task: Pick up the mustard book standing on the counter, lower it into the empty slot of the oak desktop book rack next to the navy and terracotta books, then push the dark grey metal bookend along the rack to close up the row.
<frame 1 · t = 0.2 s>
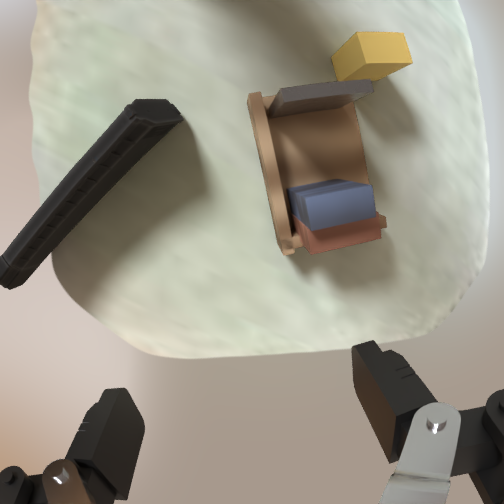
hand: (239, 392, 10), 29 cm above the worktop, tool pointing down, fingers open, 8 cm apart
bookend: (315, 99, 28), point 7 cm above the worktop, slide at 0.0 cm
book: (355, 68, 33), on the worktop
magazine: (87, 197, 36), on the worktop
shelf: (313, 163, 36), on the worktop
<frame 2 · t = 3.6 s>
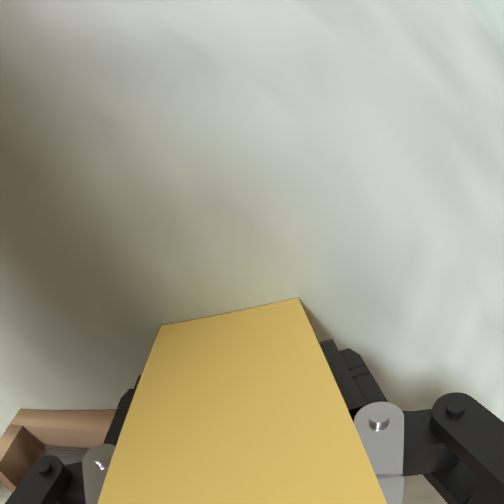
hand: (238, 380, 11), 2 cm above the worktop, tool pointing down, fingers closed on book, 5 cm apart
book: (238, 349, 13), on the worktop, touching gripper
shelf: (158, 495, 16), on the worktop
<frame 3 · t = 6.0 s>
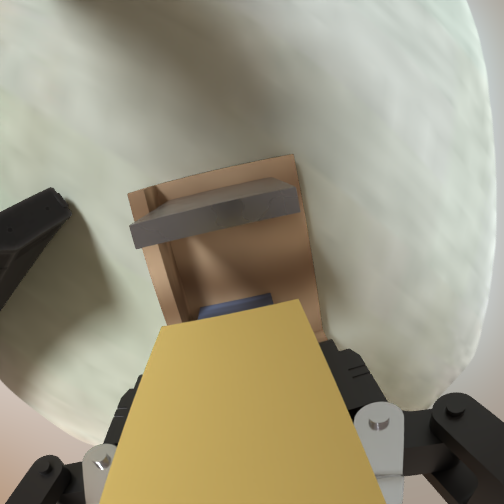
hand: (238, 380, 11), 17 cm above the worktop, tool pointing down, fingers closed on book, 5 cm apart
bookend: (218, 204, 20), point 7 cm above the worktop, slide at 0.0 cm
book: (238, 350, 13), point 15 cm above the worktop, touching gripper
shelf: (239, 268, 28), on the worktop
when the fingers open (5 cm above the worktop, at t = 8.7 s): book drops 1 cm, resting on shelf.
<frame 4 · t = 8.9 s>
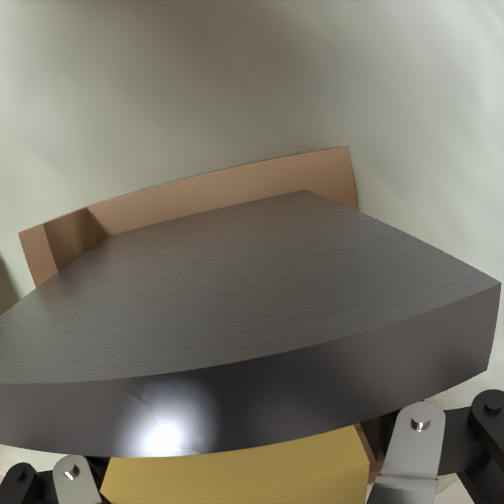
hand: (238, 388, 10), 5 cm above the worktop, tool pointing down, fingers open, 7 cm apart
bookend: (192, 268, 8), point 7 cm above the worktop, slide at 0.0 cm
book: (237, 336, 14), point 1 cm above the worktop, touching shelf
shelf: (243, 346, 16), on the worktop
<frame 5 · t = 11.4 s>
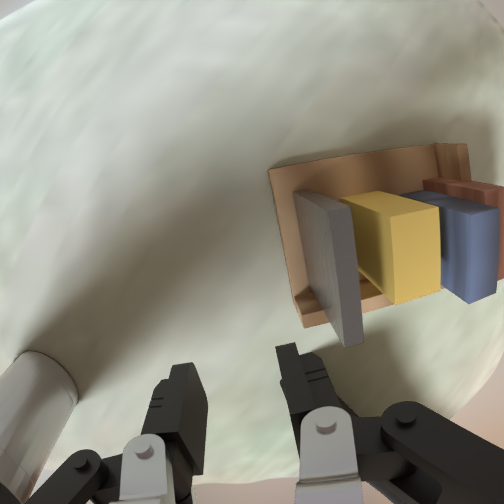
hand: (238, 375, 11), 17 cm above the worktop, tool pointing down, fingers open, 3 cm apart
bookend: (324, 256, 21), point 7 cm above the worktop, slide at 0.0 cm
book: (363, 226, 26), point 1 cm above the worktop, touching shelf
magazine: (355, 429, 35), on the worktop
shelf: (373, 219, 28), on the worktop
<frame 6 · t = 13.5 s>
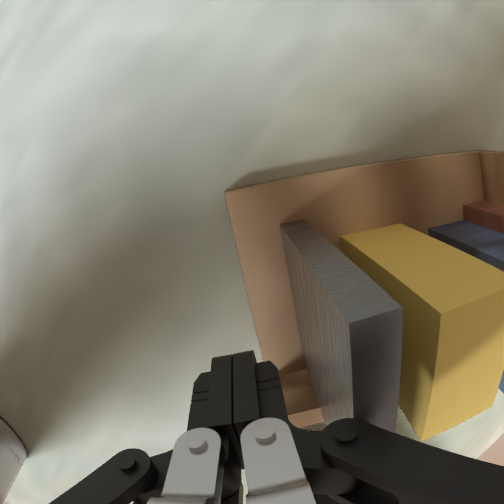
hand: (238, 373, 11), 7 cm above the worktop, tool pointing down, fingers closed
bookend: (329, 346, 12), point 7 cm above the worktop, slide at 0.9 cm, touching gripper
book: (375, 277, 17), point 1 cm above the worktop, touching shelf
shelf: (388, 263, 18), on the worktop
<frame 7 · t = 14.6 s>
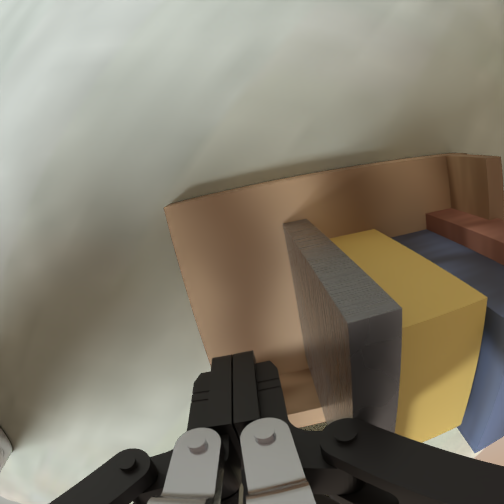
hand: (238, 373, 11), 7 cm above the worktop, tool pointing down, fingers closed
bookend: (331, 346, 12), point 7 cm above the worktop, slide at 4.0 cm, touching book, gripper
book: (349, 285, 17), point 1 cm above the worktop, touching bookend, shelf
magazine: (321, 503, 26), on the worktop
shelf: (343, 275, 18), on the worktop
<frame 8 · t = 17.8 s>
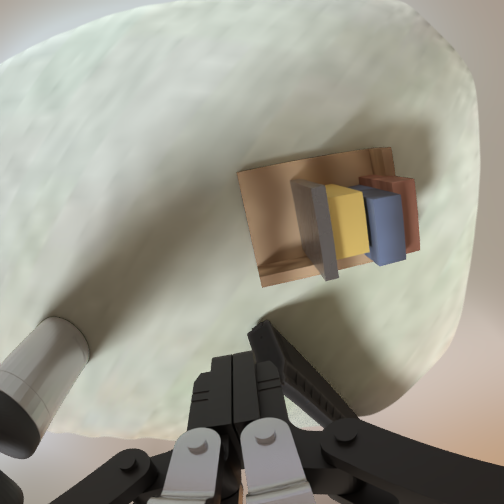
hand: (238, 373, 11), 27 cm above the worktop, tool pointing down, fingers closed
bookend: (312, 223, 31), point 7 cm above the worktop, slide at 4.0 cm
book: (321, 210, 36), point 1 cm above the worktop, touching shelf
magazine: (318, 386, 45), on the worktop
shelf: (319, 208, 37), on the worktop
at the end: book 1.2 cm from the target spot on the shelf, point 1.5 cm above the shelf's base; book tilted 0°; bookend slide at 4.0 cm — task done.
